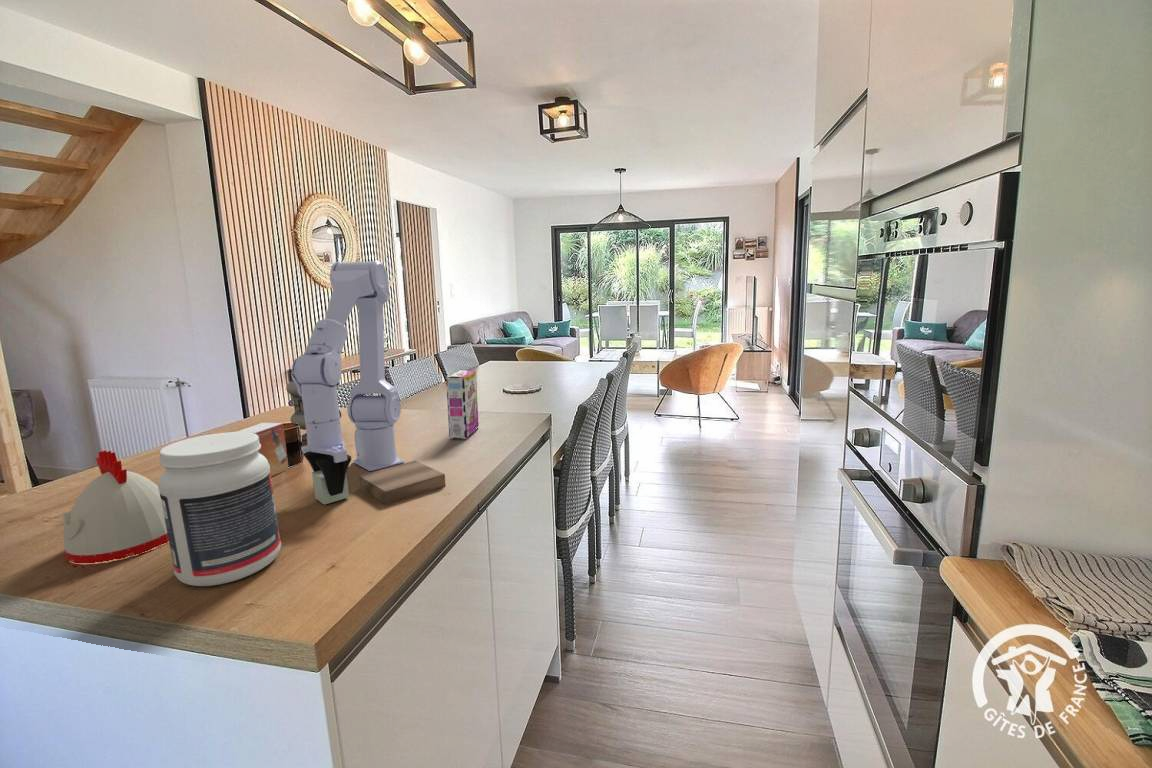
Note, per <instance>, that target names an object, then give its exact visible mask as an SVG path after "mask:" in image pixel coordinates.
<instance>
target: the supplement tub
mask: <svg viewBox="0 0 1152 768" xmlns="http://www.w3.org/2000/svg"><path fill="white" fill-rule="evenodd" d="M260 448H261V444H260V442H259V437H258V435H257V434H254V433H250V432H236V431H232V432H231V431H230V432H220V433H212V434H211V433H210V434H206V435H200V436H195V437H191V438H186V439H182V440H179V441H177V442H173V443H170V444H168V445H165V446H164V447H162V448H161V449H160V451H159V459H160V460H159V465H160V466H161V467H162V468H163V467H164V468H165V470H164V471H163V472H162V473H161V474H160V476H159V479H158V482H157V486H158V490H159V492H160V498H161V503H162V508H163V513H164V518H165V523H166V529H167V534H168V539H169V543H168V545H169V550H170V555H171V559H172V565H173V573H174V575H175V577H176V578H177V580H178V581H180V582H181V583H184V584H185V585H189V586H193V587H211V586H218V585H224V584H229V583H231V582H235V581H239V580H241V579H243V578H246V577H248V576H251V575H253V574H255V573H257V572H259V571H261V570H263V569H265V567H268V565H270V564H271V563H272V562H273V561H275V559H276V558H277V556H278V555H279V554H280V551H281V546H282V541H281V537H280V535H281V534H280V529H279V524H278V523H279V522H278V517H277V515H278V514H277V509H276V504H275V503H276V502H275V496H274V489H273V482H272V477H271V474H270V465H269V463H268V460H267V459H266V458H265V457H264V456H263V455H262V454H260V453H259V452H258V450H259V449H260Z"/></svg>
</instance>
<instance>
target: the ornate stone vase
mask: <svg viewBox="0 0 1152 768" xmlns="http://www.w3.org/2000/svg"><path fill="white" fill-rule="evenodd" d="M337 386H338V383H337V384H336V387H337ZM286 392H287V393H288V394H290V396H292V399H293V401H292V402H293V407H294V413H293V414H291V417H290V423H291V424H292V423H297V424H298V425H299V426H300V429H299V430H304V431H306V425H305V417H304V409H303V401H302V396H299V394H298V390H297V386H296V384H295V383H294V382H293V380H292V379H291V380H290V381H289V382H288V383H287V385H286ZM339 415H340V419H341V418H342V411H341V410H340V409H339ZM300 437H302V444H307V432H305V433H303V434H302V435H301V436H300Z"/></svg>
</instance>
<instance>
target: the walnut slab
mask: <svg viewBox="0 0 1152 768" xmlns="http://www.w3.org/2000/svg"><path fill="white" fill-rule="evenodd" d="M358 480H359V488H360V489H361V490H362V491H364V492H366V493H368V494H369V495H371V496H373V497H374V498H375V499H377V501H378V500H379V501H380V502H381V503H383V504H385V505H386V506H387V505H391V504H394V503H397V502H400V501H404V500H406V499H409V498H413V497H416V496H419V495H422V494H425V493H428V492H432V491H434V490H437V489H438V490H439V489H441V488H443V487H446V475H445V473H443V472H441V471H439V470H437V469H436V468H433V467H430V466H428V465H425V464H424V463H422V462H420V461H417V460H411V461H408V462H404V463H400V464H396V465H393V466H389V467H385V468H381V469H378V470H374V471H369V472H367V473H363V474H359V475H358Z"/></svg>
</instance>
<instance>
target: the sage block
mask: <svg viewBox="0 0 1152 768" xmlns="http://www.w3.org/2000/svg"><path fill="white" fill-rule="evenodd" d="M311 474H312V481H313V482H312V483H313V490H314V498H315V499H316V500H317V501H319V502H320V503H321V504H322V505H327V504H331V503H334V502H338V501H341V500H344V499H347V498H348V499H349V498H350V494H349V486H348V477H347V473H346V475H345V481H344V488H343V493H341V494H337V495H334V496H331V495H330V494H329V492H328V489H327V485H326V481H325V478H324V475H323V473H322V471H321V470H320V471H316V472H314V471H313V472H311Z"/></svg>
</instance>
